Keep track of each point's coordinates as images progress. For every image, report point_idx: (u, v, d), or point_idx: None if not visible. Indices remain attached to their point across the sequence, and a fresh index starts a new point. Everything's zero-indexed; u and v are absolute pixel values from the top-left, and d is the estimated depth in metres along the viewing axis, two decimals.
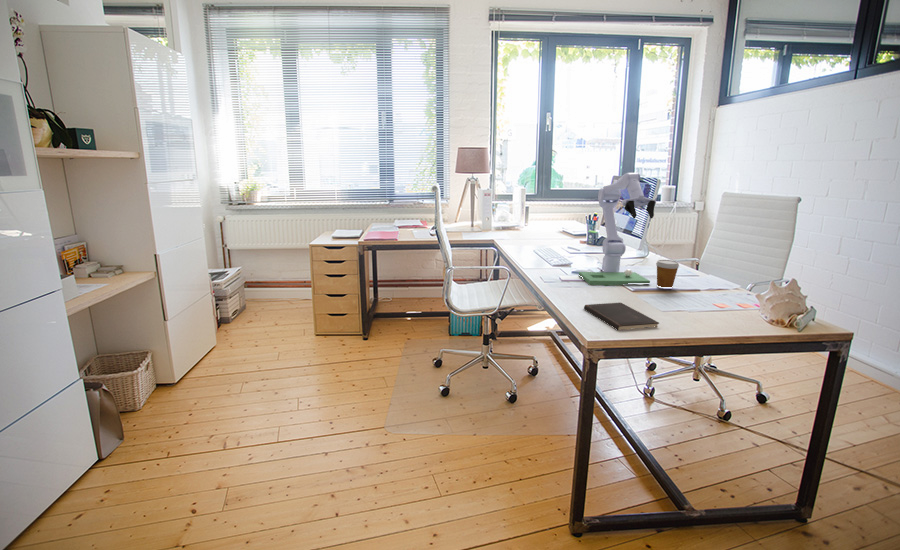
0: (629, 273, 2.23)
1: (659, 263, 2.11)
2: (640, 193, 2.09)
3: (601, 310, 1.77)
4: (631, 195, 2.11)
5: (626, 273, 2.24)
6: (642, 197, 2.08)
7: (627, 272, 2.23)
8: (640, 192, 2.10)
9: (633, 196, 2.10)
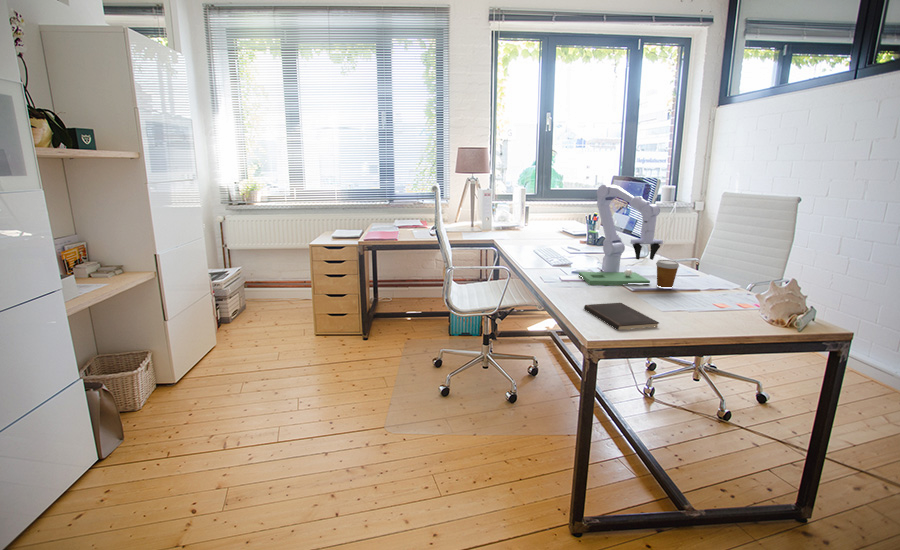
0: (629, 273, 2.23)
1: (659, 263, 2.11)
2: (651, 236, 2.18)
3: (601, 310, 1.77)
4: (642, 234, 2.20)
5: (626, 273, 2.24)
6: (650, 242, 2.18)
7: (627, 272, 2.23)
8: (651, 235, 2.18)
9: (643, 237, 2.19)
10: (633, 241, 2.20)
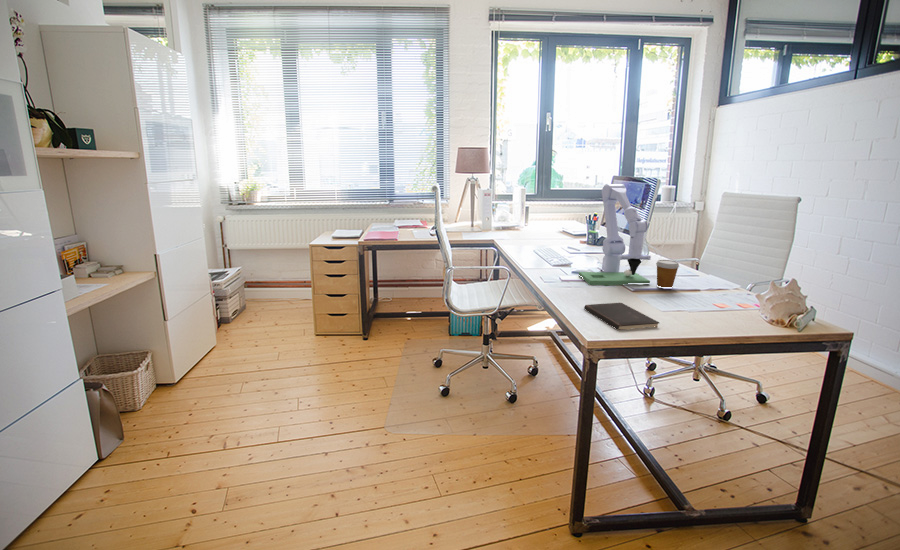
0: (628, 273, 2.23)
1: (659, 263, 2.11)
2: (638, 252, 2.20)
3: (601, 310, 1.77)
4: (630, 250, 2.21)
5: (626, 274, 2.24)
6: None
7: (627, 272, 2.23)
8: (639, 251, 2.19)
9: (631, 253, 2.21)
10: (621, 257, 2.22)
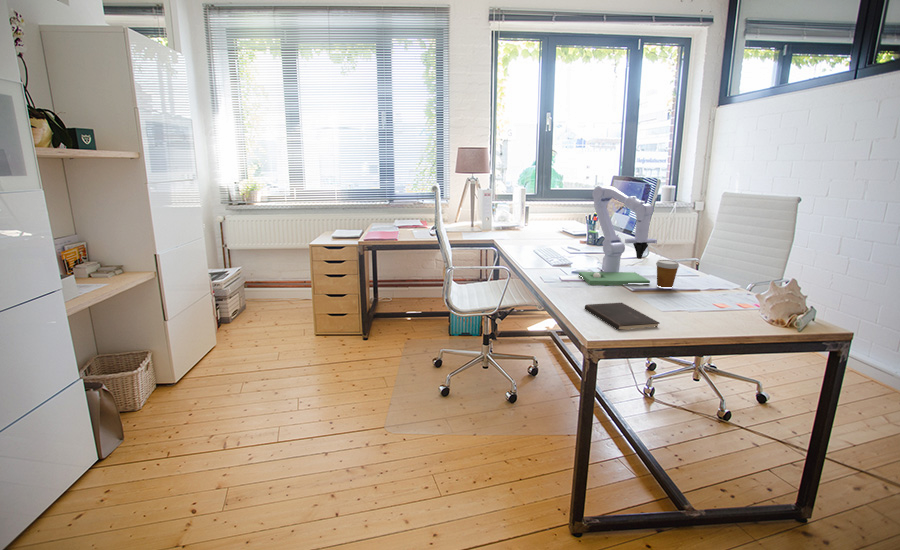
0: (598, 277, 2.23)
1: (659, 263, 2.11)
2: (645, 236, 2.20)
3: (602, 310, 1.77)
4: (636, 233, 2.21)
5: None
6: (644, 241, 2.20)
7: None
8: (645, 234, 2.20)
9: (637, 236, 2.21)
10: (627, 240, 2.22)
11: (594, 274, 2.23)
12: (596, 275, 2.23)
